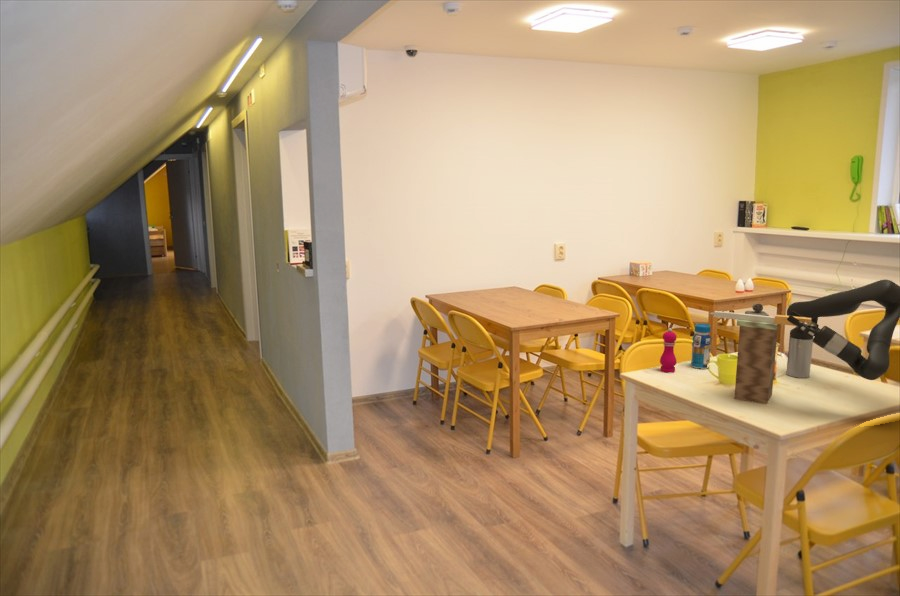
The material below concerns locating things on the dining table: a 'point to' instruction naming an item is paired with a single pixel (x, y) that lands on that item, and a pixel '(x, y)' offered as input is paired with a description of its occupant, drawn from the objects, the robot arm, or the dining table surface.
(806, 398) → the dining table surface
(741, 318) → the knife
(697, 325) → the blue snack canister
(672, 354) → the pepper mill
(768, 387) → the brown zigzag canister
